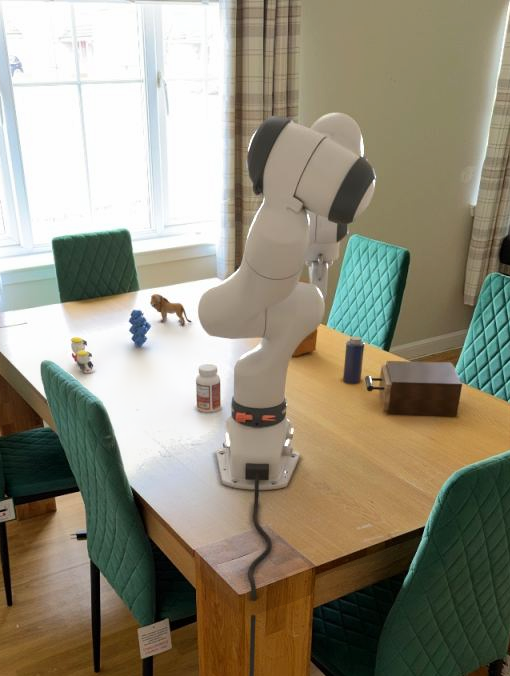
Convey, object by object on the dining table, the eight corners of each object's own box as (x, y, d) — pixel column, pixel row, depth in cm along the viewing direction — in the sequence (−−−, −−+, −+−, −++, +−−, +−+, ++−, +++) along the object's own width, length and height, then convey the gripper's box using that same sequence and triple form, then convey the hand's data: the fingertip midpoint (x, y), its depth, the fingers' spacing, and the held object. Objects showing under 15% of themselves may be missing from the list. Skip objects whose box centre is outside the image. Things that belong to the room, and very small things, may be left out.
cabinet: (388, 414, 187) (392, 381, 182) (382, 392, 199) (386, 360, 195) (456, 417, 185) (462, 384, 180) (446, 394, 198) (452, 362, 193)
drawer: (366, 409, 187) (368, 383, 184) (362, 388, 199) (365, 364, 195) (446, 412, 185) (451, 386, 182) (438, 391, 197) (442, 366, 193)
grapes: (158, 350, 230) (157, 311, 223) (138, 353, 227) (135, 314, 221) (145, 338, 239) (143, 301, 232) (126, 341, 236) (123, 304, 230)
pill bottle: (217, 402, 195) (216, 361, 189) (223, 411, 190) (223, 370, 184) (194, 404, 193) (193, 364, 188) (199, 414, 188) (199, 372, 183)
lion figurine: (148, 322, 254) (147, 295, 249) (154, 317, 258) (153, 291, 253) (188, 326, 249) (188, 299, 245) (194, 321, 254) (193, 295, 249)
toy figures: (95, 373, 213) (92, 345, 209) (80, 375, 212) (77, 347, 208) (84, 359, 223) (81, 332, 218) (70, 362, 221) (67, 334, 217)
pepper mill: (361, 384, 204) (365, 341, 198) (343, 383, 205) (347, 340, 198) (359, 377, 208) (364, 335, 202) (342, 377, 209) (346, 334, 202)
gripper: (335, 260, 163) (330, 322, 170) (332, 240, 180) (327, 297, 187) (306, 260, 163) (303, 322, 171) (306, 240, 181) (302, 297, 188)
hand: (316, 309), depth 179 cm, fingers closed
